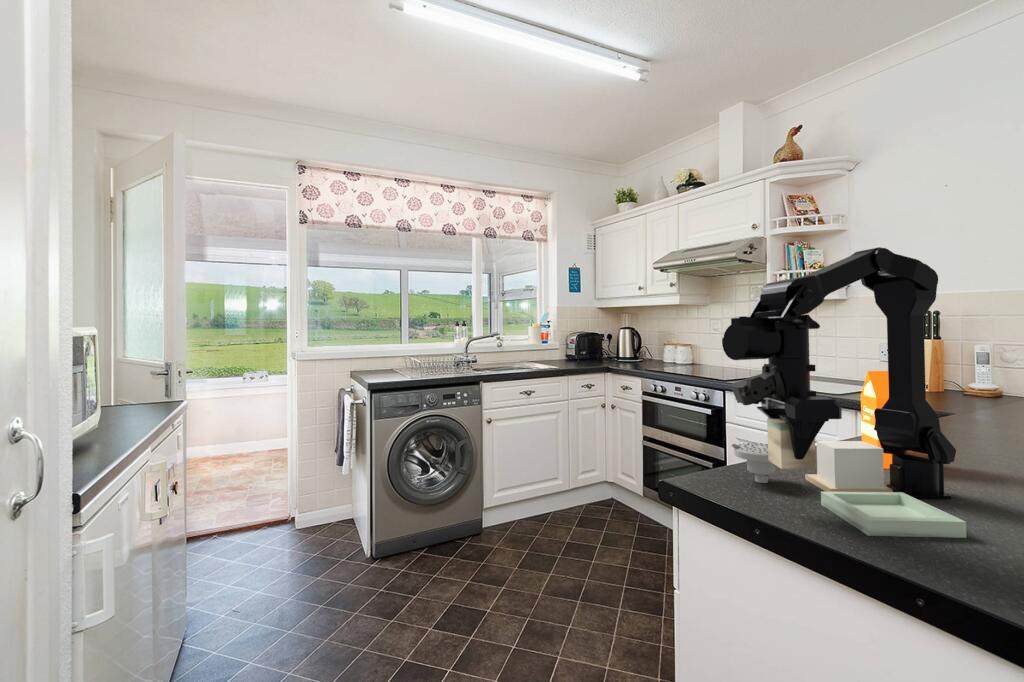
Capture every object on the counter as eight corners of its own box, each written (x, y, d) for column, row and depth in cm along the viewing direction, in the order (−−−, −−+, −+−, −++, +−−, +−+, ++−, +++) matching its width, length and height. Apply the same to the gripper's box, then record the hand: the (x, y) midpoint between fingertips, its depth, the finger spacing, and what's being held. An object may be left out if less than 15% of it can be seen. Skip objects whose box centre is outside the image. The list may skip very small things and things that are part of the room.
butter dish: (860, 479, 91) (859, 438, 91) (892, 495, 82) (891, 449, 82) (805, 479, 92) (804, 438, 92) (830, 494, 83) (829, 449, 83)
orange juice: (929, 470, 95) (926, 372, 95) (877, 468, 98) (875, 372, 98) (908, 460, 103) (906, 369, 103) (861, 458, 105) (859, 369, 105)
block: (800, 460, 78) (799, 418, 78) (816, 469, 73) (814, 424, 73) (768, 460, 78) (767, 418, 78) (781, 468, 73) (780, 424, 73)
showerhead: (725, 438, 97) (778, 439, 95) (726, 473, 97) (779, 475, 95) (737, 449, 88) (796, 450, 86) (738, 487, 88) (797, 489, 86)
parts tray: (902, 505, 77) (902, 492, 77) (966, 537, 64) (966, 521, 64) (821, 504, 78) (820, 491, 78) (868, 535, 66) (867, 520, 66)
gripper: (718, 356, 86) (720, 442, 86) (758, 362, 67) (761, 470, 67) (782, 355, 84) (785, 442, 85) (842, 360, 66) (845, 471, 66)
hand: (791, 455), depth 76 cm, fingers closed on block, 5 cm apart
